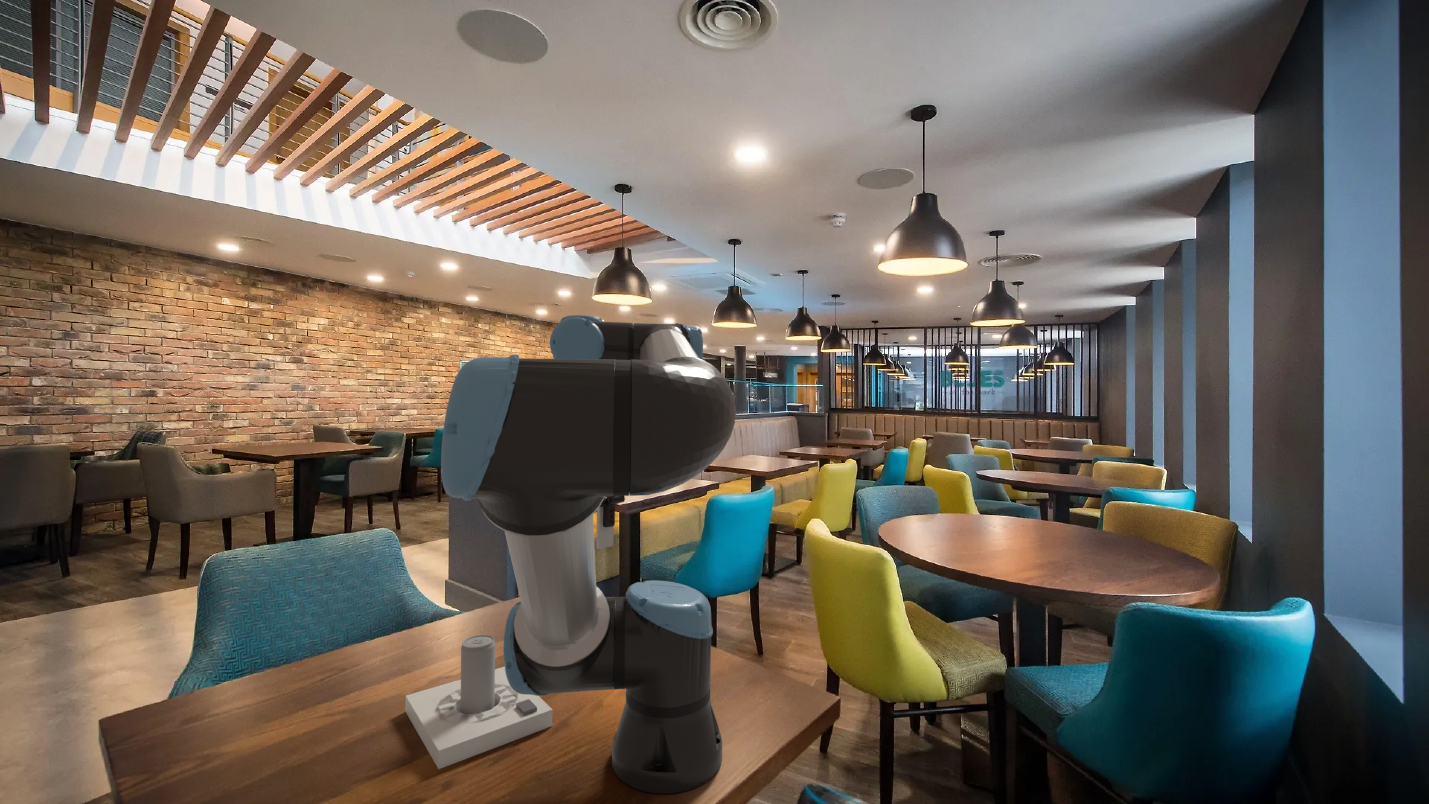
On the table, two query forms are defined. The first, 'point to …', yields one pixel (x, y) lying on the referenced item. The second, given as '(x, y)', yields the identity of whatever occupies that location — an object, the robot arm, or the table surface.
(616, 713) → the table surface
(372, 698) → the table surface
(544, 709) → the socket plate
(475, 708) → the beverage can
